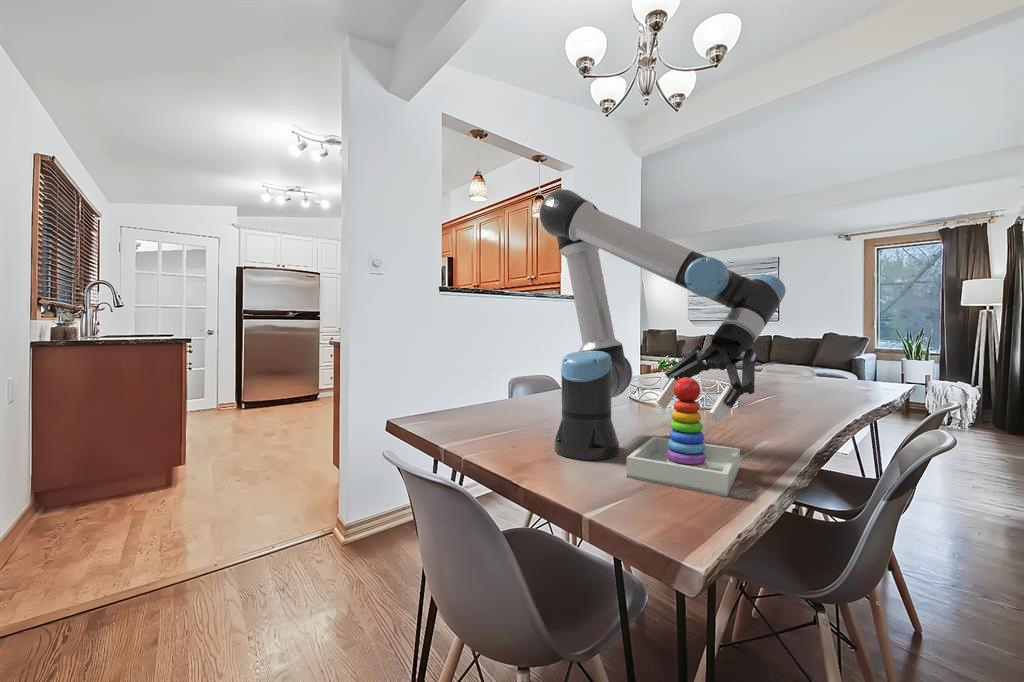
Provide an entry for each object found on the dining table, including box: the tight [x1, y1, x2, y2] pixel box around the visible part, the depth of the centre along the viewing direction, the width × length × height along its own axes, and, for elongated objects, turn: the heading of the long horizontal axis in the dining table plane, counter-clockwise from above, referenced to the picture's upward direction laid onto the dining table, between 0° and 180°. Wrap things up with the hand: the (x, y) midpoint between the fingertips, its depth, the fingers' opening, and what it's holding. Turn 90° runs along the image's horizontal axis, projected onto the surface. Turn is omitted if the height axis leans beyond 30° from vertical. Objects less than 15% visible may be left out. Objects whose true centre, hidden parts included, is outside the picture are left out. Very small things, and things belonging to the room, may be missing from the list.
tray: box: [626, 436, 741, 498], centre depth 88 cm, size 18×18×4 cm
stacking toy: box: [665, 377, 708, 469], centre depth 88 cm, size 8×8×19 cm
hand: (685, 410), depth 87 cm, fingers open, 13 cm apart
